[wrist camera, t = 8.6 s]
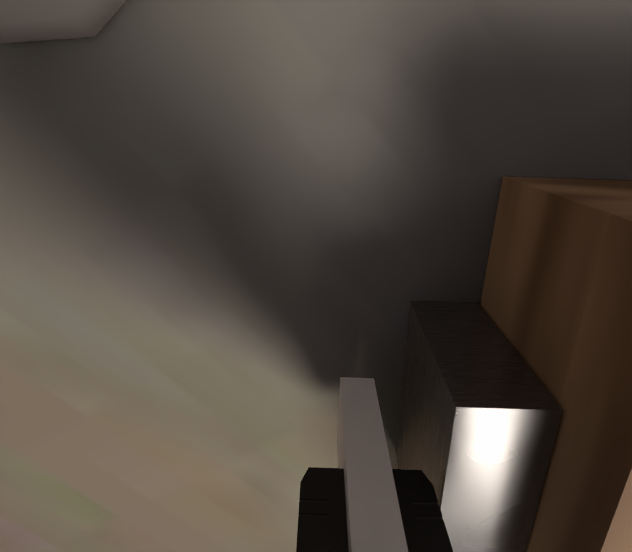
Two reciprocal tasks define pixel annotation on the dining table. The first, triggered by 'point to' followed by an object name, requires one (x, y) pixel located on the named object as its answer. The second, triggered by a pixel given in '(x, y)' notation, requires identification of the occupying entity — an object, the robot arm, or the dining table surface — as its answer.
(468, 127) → the dining table surface
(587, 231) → the block
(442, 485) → the dark grey block
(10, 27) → the flask
